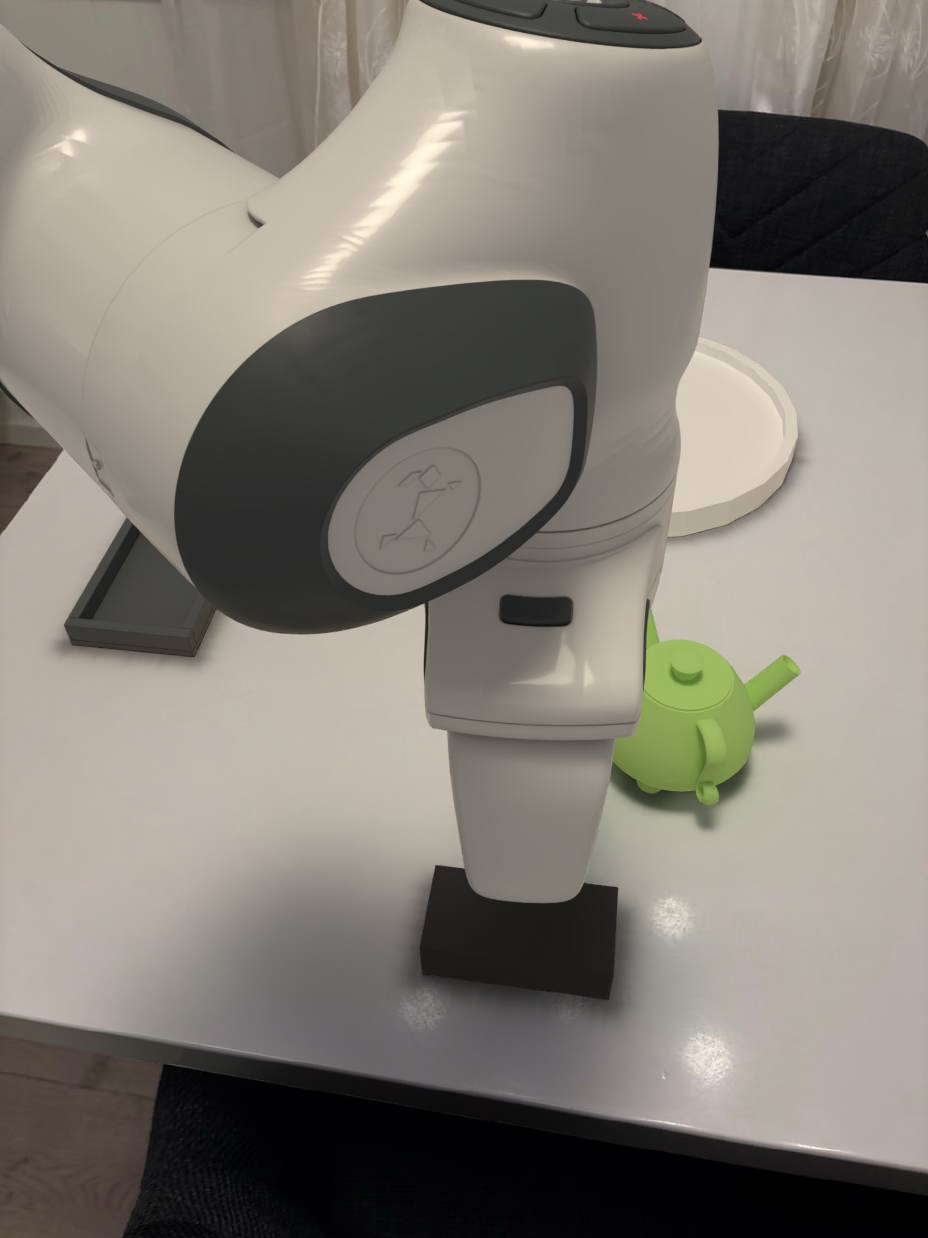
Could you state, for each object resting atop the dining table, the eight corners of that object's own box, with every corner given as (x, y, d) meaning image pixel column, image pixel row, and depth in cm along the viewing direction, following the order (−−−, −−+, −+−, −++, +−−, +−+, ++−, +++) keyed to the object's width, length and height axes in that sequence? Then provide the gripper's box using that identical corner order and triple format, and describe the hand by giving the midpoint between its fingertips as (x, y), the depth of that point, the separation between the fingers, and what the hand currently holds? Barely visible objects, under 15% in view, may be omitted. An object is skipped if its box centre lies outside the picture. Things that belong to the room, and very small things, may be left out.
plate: (863, 472, 86) (871, 447, 84) (572, 583, 77) (574, 558, 75) (666, 320, 104) (669, 297, 102) (411, 397, 95) (409, 373, 93)
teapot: (718, 856, 61) (743, 768, 55) (545, 773, 65) (550, 683, 59) (785, 727, 67) (814, 636, 61) (624, 659, 72) (636, 568, 66)
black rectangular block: (421, 975, 56) (419, 948, 54) (437, 892, 59) (435, 864, 57) (609, 1000, 55) (614, 974, 53) (613, 914, 58) (618, 886, 56)
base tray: (194, 657, 73) (188, 637, 71) (71, 644, 74) (62, 624, 72) (251, 530, 82) (246, 511, 81) (141, 521, 83) (134, 501, 82)
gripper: (469, 352, 43) (473, 592, 53) (417, 742, 29) (435, 972, 39) (622, 355, 43) (598, 597, 53) (646, 753, 29) (606, 983, 38)
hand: (529, 759), depth 46 cm, fingers open, 8 cm apart
